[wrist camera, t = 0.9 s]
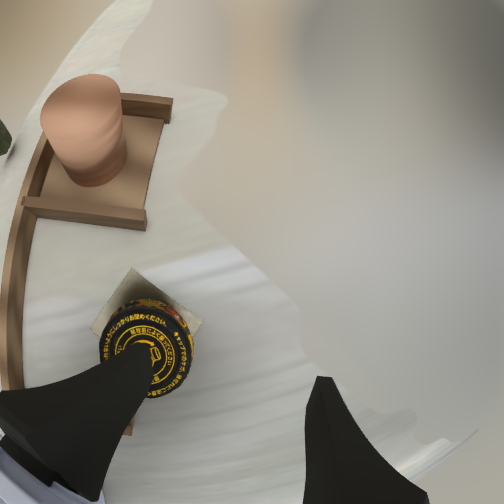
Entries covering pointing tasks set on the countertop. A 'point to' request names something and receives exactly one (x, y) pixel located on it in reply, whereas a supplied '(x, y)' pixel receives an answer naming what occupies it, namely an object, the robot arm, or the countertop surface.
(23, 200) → the caddy
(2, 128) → the vegetable
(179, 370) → the condiment
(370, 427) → the countertop surface
